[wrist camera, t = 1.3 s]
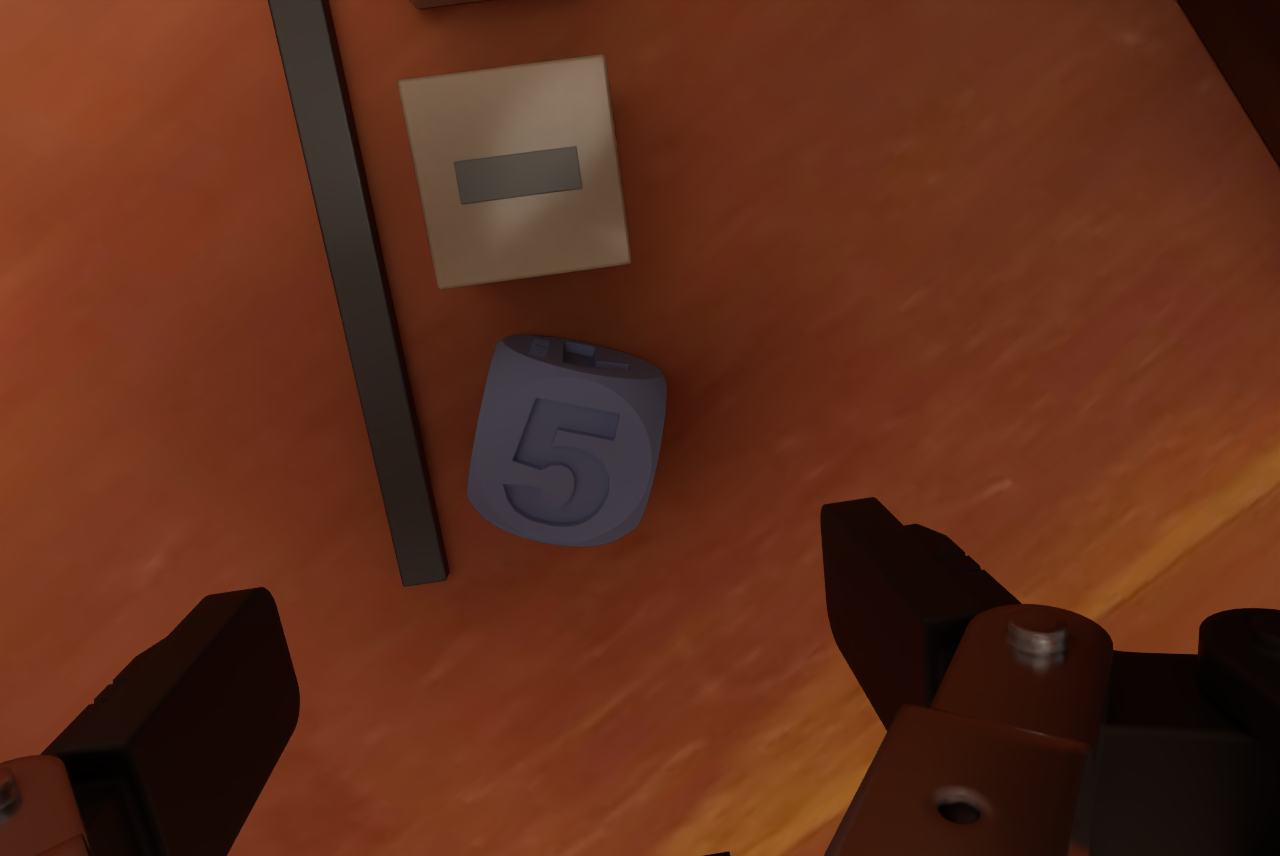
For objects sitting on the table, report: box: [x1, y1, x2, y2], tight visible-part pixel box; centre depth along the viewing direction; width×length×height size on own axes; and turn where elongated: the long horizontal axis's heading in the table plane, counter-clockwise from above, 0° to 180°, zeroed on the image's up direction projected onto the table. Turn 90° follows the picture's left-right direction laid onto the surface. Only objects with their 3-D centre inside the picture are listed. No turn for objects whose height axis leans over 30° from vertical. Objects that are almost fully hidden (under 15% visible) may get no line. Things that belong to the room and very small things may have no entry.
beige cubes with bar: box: [268, 0, 632, 587], centre depth 18 cm, size 18×7×4 cm, turn 7°
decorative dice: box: [467, 335, 667, 547], centre depth 20 cm, size 4×4×4 cm
